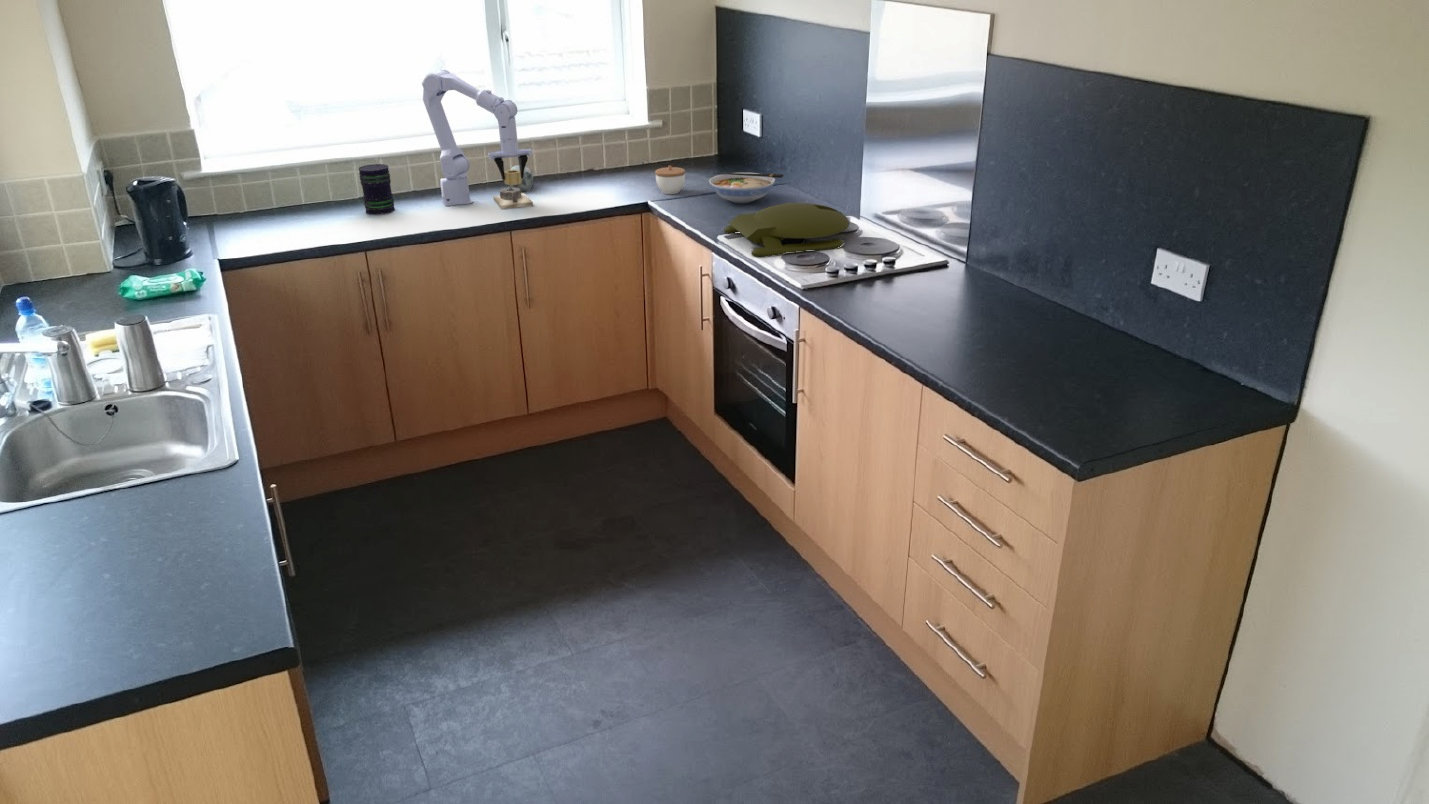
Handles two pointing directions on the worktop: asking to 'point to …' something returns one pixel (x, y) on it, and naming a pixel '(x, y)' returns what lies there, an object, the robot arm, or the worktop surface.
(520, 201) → the gear board
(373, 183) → the black green cylinder
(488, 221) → the worktop surface
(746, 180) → the ramen bowl
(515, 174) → the brass gear
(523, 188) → the spool
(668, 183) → the lidded jar
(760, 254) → the green sea turtle
